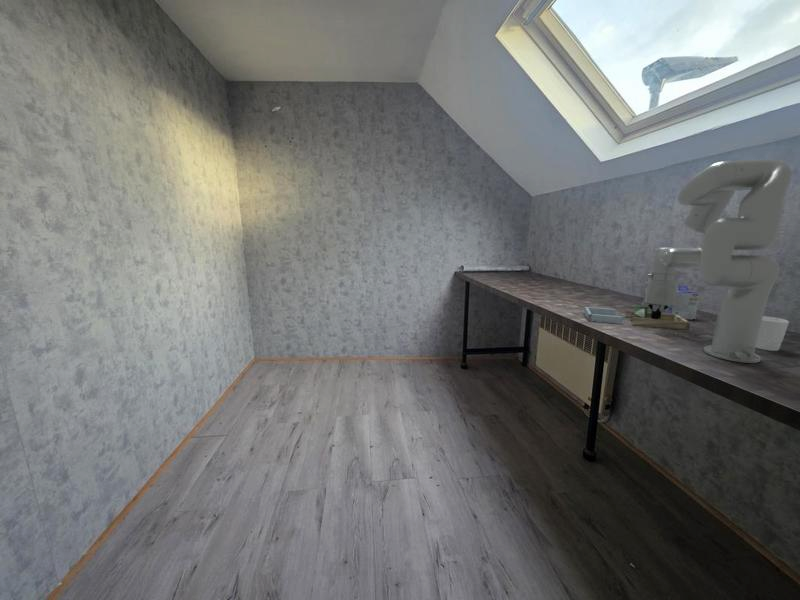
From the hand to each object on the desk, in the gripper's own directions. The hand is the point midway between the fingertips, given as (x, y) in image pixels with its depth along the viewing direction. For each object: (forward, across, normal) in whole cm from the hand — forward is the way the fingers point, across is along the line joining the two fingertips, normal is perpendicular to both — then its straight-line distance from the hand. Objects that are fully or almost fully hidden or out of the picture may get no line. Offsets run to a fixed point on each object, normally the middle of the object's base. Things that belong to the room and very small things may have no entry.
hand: (655, 319), depth 138 cm
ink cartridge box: (+2, +12, +14) cm, 19 cm away
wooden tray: (+1, 0, 0) cm, 1 cm away
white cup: (+1, +25, -22) cm, 33 cm away
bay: (+1, -20, 0) cm, 20 cm away
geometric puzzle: (+2, -5, 0) cm, 5 cm away
